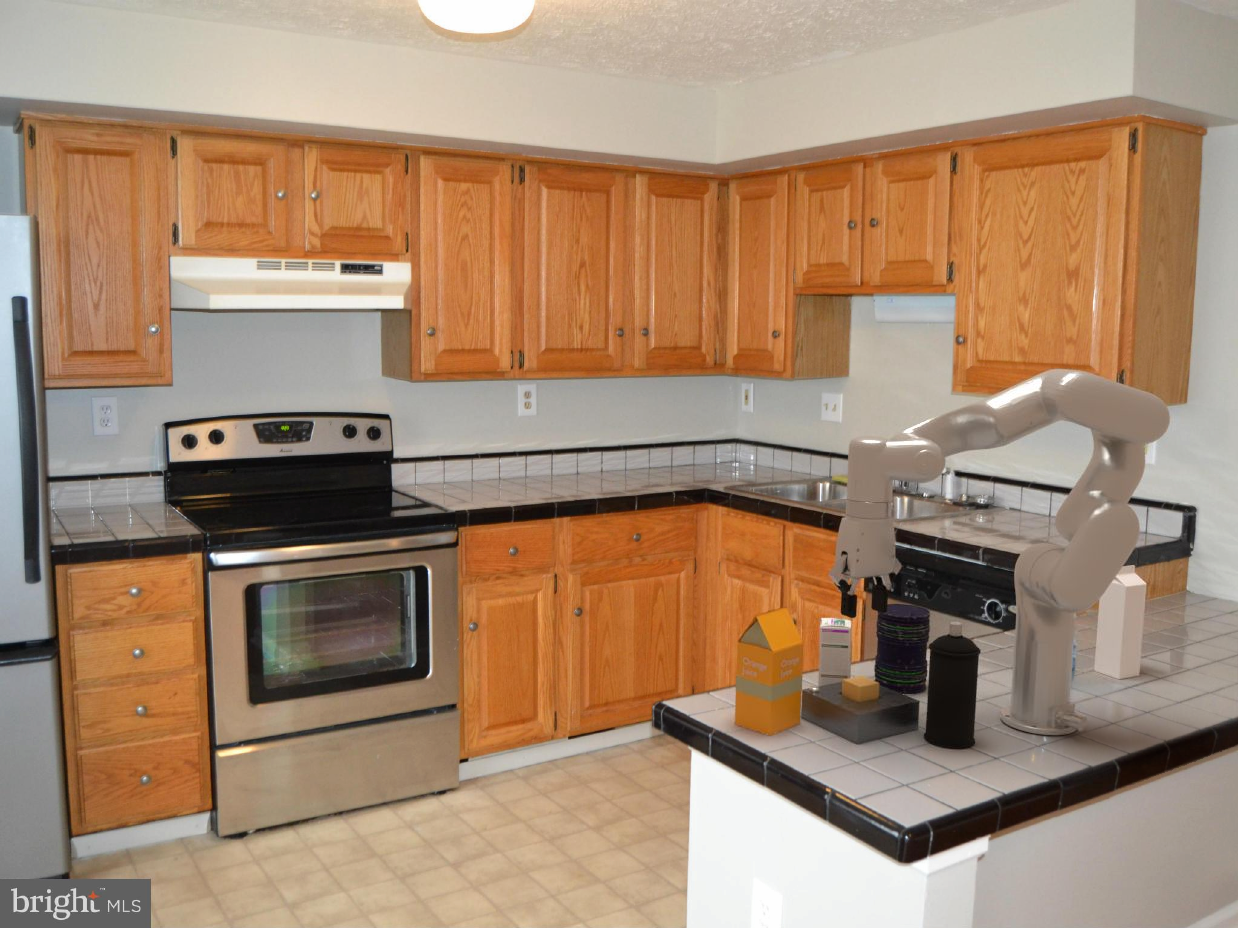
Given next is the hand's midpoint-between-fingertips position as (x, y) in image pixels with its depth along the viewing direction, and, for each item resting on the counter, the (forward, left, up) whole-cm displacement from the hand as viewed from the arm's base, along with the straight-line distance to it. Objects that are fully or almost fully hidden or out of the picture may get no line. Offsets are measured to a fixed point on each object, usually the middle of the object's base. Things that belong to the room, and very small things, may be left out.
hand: (863, 612), depth 185 cm
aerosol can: (-13, -8, -20) cm, 25 cm away
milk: (-4, -66, -20) cm, 69 cm away
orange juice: (+8, +14, -20) cm, 25 cm away
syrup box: (+12, -5, -20) cm, 24 cm away
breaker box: (0, 0, -20) cm, 20 cm away
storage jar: (+11, -21, -20) cm, 31 cm away
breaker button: (0, 0, -15) cm, 15 cm away
